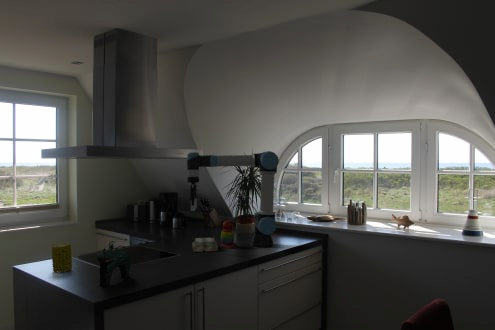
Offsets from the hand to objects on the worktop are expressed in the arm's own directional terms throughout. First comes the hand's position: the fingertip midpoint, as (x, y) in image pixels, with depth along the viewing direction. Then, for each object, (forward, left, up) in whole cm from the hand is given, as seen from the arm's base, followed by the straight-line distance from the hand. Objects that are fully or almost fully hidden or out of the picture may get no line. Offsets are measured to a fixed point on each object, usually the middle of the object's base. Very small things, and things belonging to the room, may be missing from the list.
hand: (193, 209), depth 251 cm
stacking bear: (-23, -13, -28) cm, 38 cm away
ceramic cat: (+40, +55, -28) cm, 74 cm away
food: (+71, +31, -28) cm, 82 cm away
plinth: (-7, -9, -27) cm, 30 cm away
